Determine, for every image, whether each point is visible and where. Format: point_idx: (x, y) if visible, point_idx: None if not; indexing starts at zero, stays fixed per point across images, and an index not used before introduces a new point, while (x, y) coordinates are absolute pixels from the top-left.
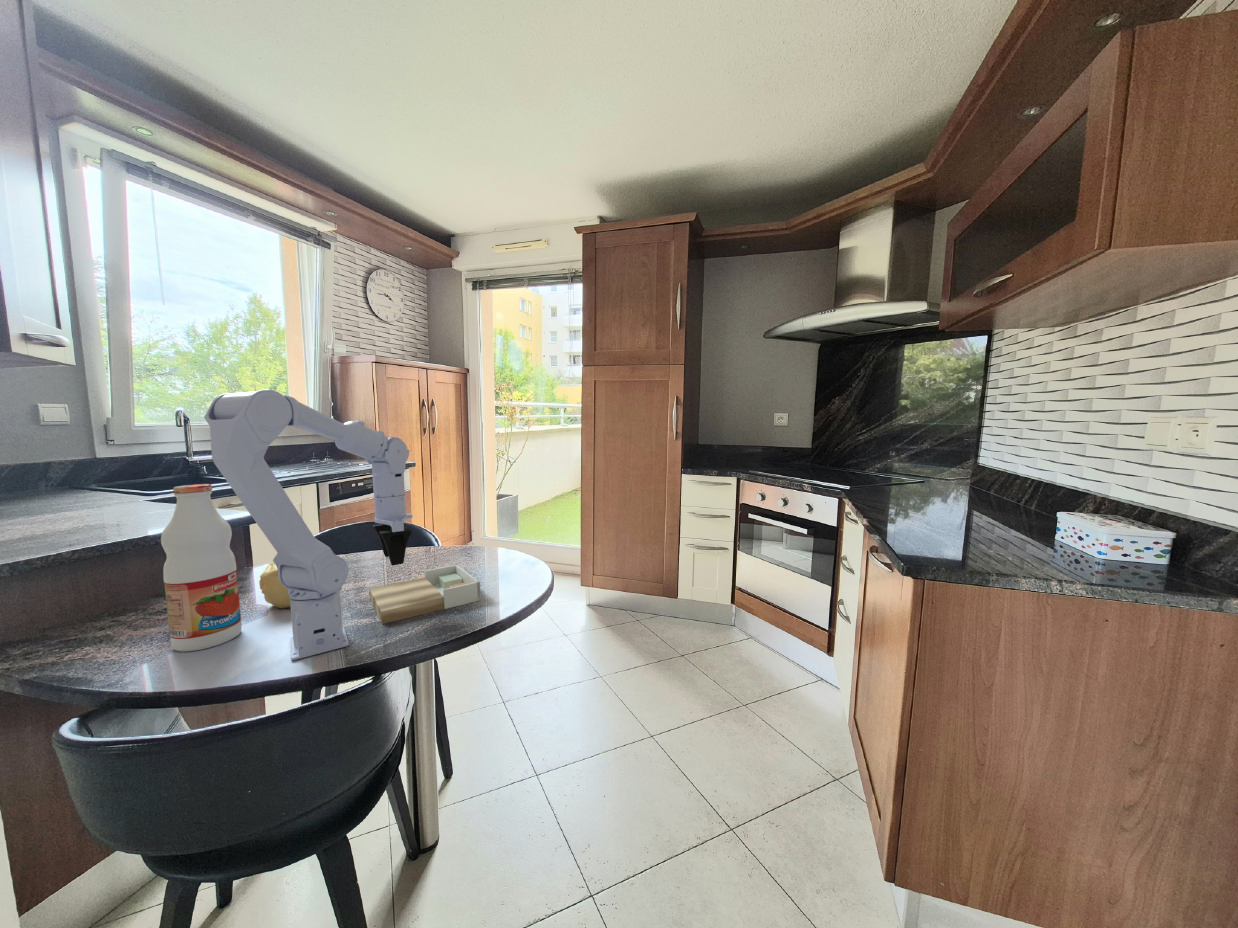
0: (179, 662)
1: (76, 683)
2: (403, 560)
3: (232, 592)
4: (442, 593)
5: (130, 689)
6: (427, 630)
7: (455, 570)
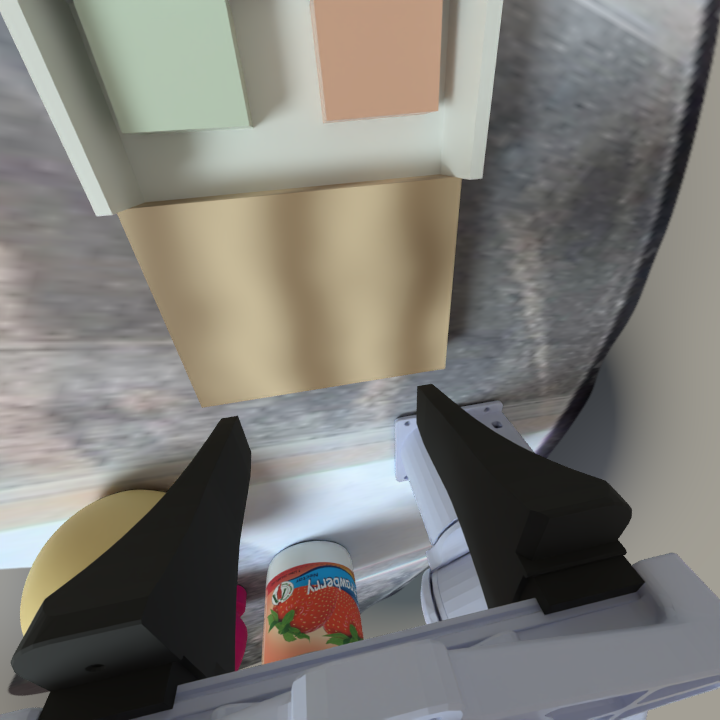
0: (377, 558)
1: (370, 602)
2: (440, 391)
3: (334, 634)
4: (287, 146)
5: (425, 564)
6: (557, 251)
7: None
